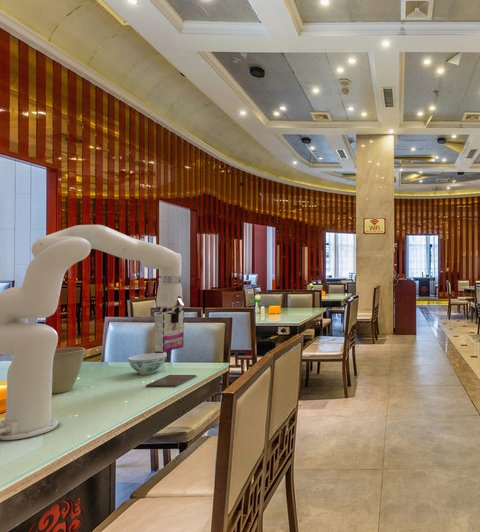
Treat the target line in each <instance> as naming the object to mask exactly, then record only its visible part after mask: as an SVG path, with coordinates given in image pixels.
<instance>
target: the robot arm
mask: <svg viewBox="0 0 480 532" xmlns="http://www.w3.org/2000/svg"><path fill="white" fill-rule="evenodd" d="M91 250H98V251H101V252H103V253H106V254H108V255H111V256H114V257H116V258H117V257H118V258H120V259H124V260H129V261H139V263H140V264H141V266H142V267H144V268H145V269H150V270H160V282H159V284H158V288H157V293H156V301H155V302H156V303H155V306H156V308H157V309H158V312H159V313H161V312H168V310H169V308H171V311H172V313H173V314H171V323H178V322H179V313H180V311H183V309H184V308H185V304H184V302H183V288H182V283H181V282H182V281H181V279H182V255H181V253H179V252H175V251H174V250H172V249H170V248H168V247H166V246H163V245H160V244H156V243H153V242H149V241H146V240H142V239H139V238H138V239H137V238H134V237H131V236H129V235H127V234H125V233H122V232H120V231H118V230H116V229H113V228H110V227H108V226H106V225H103V224H78V225H74V226H69V227H67V228H64V229H61V230H59V231H55V232H51V233H50V234H47V235H44V236H41V237H39V238H37V239H36V240H35V241H34V242H33V243H32V245H31V250H30V251H31V255H32V256H33V257H34V258H32V260H31V261H30V262H29V263H28V266H27V267H26V270H25V274H24V277H23V281H22V285H21V286H12V287H9V288H6V289H4V290H2V291H1V292H0V355H2V356H3V355H4V356H13V358H12V360H11V362H10V364H9V366H8V369H7V372H6V373H7V374H6V375H7V376H6V398H5V399H6V400H5V419H1V420H0V440H3V441H13V440H20V439H26V438H31V437H36V436H39V435H42V434H45V433H48V432H51V431H52V430H54V429H56V428H57V427H58V424H59V423H58V420H56V419H53V418H52V400H53V399H52V397H53V396H52V395H53V394H52V370H53V359H54V354H55V350H56V349H57V346H58V342H59V336H58V332H57V331H56V329H54V327H52V326H50V325H47V324H45V323H40V322H39V323H38V322H37V323H36V322H29V319H31V320H32V319H33V320H34V319H35V320H36V319H45V318H49V317H51V316H53V315H54V314H55V313H56V311H57V309H58V306H59V302H60V301H59V300H60V296H61V290H62V285H63V280H64V277H65V274H66V273H67V271H68V270H69V269H70V268H71V267H72V266H74V265H75V264H77V263H78V262H81V261H83V260H84V259H86V258H88V256H89V255H90V254H91V252H92V251H91Z"/></svg>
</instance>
